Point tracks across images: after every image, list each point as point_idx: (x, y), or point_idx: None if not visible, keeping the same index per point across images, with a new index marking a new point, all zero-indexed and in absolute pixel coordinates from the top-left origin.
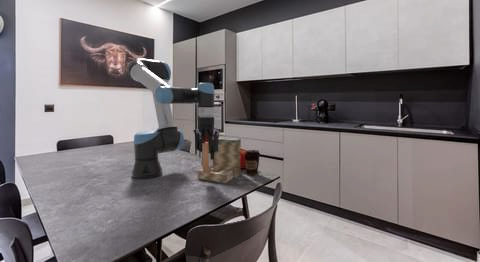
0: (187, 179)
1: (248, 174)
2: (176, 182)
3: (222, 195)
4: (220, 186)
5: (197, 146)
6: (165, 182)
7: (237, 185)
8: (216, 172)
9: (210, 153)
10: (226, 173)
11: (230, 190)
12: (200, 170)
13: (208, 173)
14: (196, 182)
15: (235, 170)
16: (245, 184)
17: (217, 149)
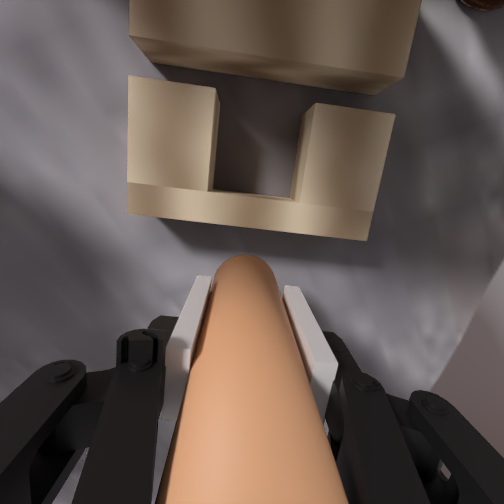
0: (99, 248)
1: (473, 3)
2: (78, 314)
3: (385, 378)
4: (339, 285)
5: (56, 493)
6: (23, 334)
7: (425, 239)
8: (286, 205)
9: (322, 412)
10: (366, 202)
11: (405, 316)
12: (143, 199)
13: (229, 223)
14: (183, 275)
15: (403, 62)
16: (467, 208)
17: (455, 428)
